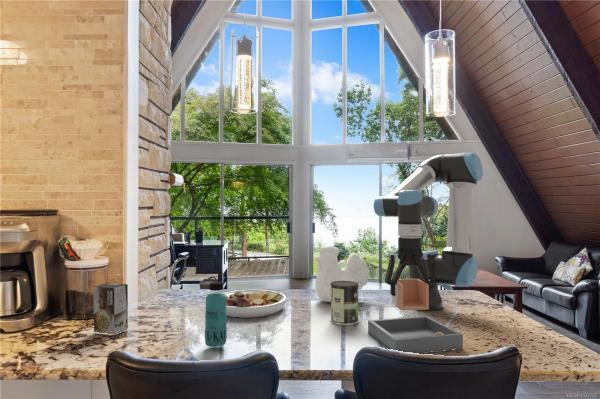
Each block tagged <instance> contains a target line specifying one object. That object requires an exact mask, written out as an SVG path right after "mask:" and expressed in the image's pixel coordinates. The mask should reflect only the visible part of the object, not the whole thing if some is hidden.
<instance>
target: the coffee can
mask: <svg viewBox="0 0 600 399" xmlns="http://www.w3.org/2000/svg"><path fill="white" fill-rule="evenodd" d="M330 285H331V302H330V322H331V323H332V324H334V325H339V326H353V325H357V324H358V323H359V290H358V283H357V282H353V281H334V282H331V283H330Z"/></svg>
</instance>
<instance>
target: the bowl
mask: <svg viewBox="0 0 600 399" xmlns="http://www.w3.org/2000/svg"><path fill="white" fill-rule="evenodd" d="M222 293H223V294H225V295H226V297H227V299H226V316H227V317H231V318H236V317H238V319H239V318H241V319H251V318H252V319H253V318H254V317H255V318H262V317H267V316H271V315H274V314H277V313H279V312H280V311H281V310H283V309H284V307H285V305H286V303H287V298H286V295H285V294H283V293H281V292H278V291H273V290H266V289H265V290H264V289H242V290H241V289H239V290H233V291H227V292H222Z"/></svg>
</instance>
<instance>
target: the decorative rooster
mask: <svg viewBox="0 0 600 399" xmlns="http://www.w3.org/2000/svg"><path fill="white" fill-rule="evenodd" d="M339 253H340V250H339V247H337V246H333V245H326V246H321V247H320V248H319V255H317V256H316V257H314V260H315V261H316V262H317V264H316V266H317V268H316V272H317V275H316V279H315V284H314V290H315V293H316V295H317V297H318V298H319V300H321V301H322V302H326V303H331V285H330V283H331V282H334V281H353V282H357V283H358V291H360V290H362V289H363V287H364V286H366V285H367V284H368V281H369V277H370V269H369V267H368V265H367V262H366V261H365V260H364V258H362V257H360V255H359V254H358V253H356V252H351V253H350V254H349V256H348V257H347V259H346V261H345V259H343V260H340V261H339V260H338V255H339ZM342 264H344V267H341V265H342Z"/></svg>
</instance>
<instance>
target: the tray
mask: <svg viewBox="0 0 600 399" xmlns="http://www.w3.org/2000/svg"><path fill="white" fill-rule="evenodd" d="M436 332H441V333H443V334H444V335H434V334H435V333H436ZM367 334H368V335H369V336H370V337H371V338H373V339H374V340H375V341H376V342H378V343H379V344H380V345H381V346H382V347H384V348H385V349H386V348H388V349H393V350H398V351H403V352H413V353H421V354H428V353H427V352H431V351H442V352H444V351H443V350H452V349H462V348H463V349H464V334H463V333H461V332H460V331H459V332H458V331H457V330H456V329H453V328H451V327H450V326H447V325H445V324H444V323H441V322H440V321H438V320H436V319H434V318H432V317H430V316H428V315H423V316H422V315H419V316H409V317H408V316H407V317H396V318H395V317H394V318H382V319H381V318H379V319H369V320H367ZM388 349H387V350H388ZM452 351H453V350H452ZM425 352H426V353H425ZM431 353H432V352H431Z"/></svg>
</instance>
